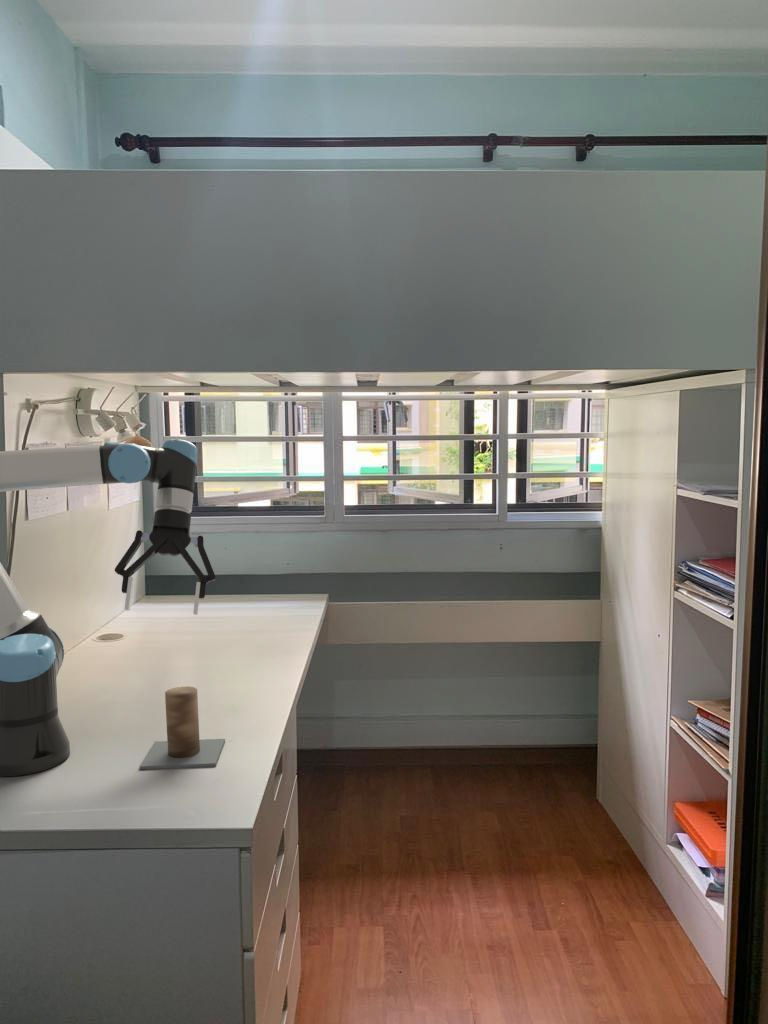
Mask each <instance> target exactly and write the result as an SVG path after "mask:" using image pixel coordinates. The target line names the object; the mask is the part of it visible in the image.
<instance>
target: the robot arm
mask: <svg viewBox="0 0 768 1024" xmlns="http://www.w3.org/2000/svg"><path fill="white" fill-rule="evenodd" d="M198 452H199V451H198V447H197V446H196V445H195V444H194V443H192V442H190V441H189V440H184V439H180V438H179V439H173V438H172V439H168V440H167V439H166V440H165V441H164V442H163V444H162V446H161V447H152V446H151V447H150V446H146V445H139V444H137V443H135V442H134V443H133V442H127V443H125V442H122V441H105V442H104V444H102V445H88V446H87V445H86V446H85V445H83V446H73V447H72V446H69V447H53V448H51V447H50V448H35V449H33V448H32V449H19V450H17V449H16V450H1V451H0V493H1V492H2V493H3V492H15V491H28V490H30V491H31V490H42V489H52V488H53V489H55V488H65V487H66V488H68V487H69V488H70V487H80V486H92V485H93V486H94V485H105V484H106V485H109V484H110V485H111V484H134V483H139V482H145V483H146V482H147V483H152V484H153V483H156V484H157V491H156V499H155V509H156V510H155V512H154V517H153V524H152V530H151V532H150V533H148V532H143V531H142V530H136V532H135V537H134V540H133V541H132V543H131V544H130V545H129V547H128V549H127V550H126V551H125V553H124V555H123V556H122V558H121V559H120V560H119V562H118V564H117V565H116V566H115V568H114V573H116V574H117V575H119V576H121V577H122V582H121V583H122V584H121V592H122V593H123V594H125V595H126V596H125V603H124V610H125V611H130V610H131V606H132V597H133V588H134V581H135V578H134V577H132V576H133V575H135V573H136V572H138V571H139V570H140V569H141V568H142V567H143V566H144V565H145V564H146V563H147V562H148V561H149V560H151V559H152V558H154V557H155V555H156V554H159V555H161V556H171V557H177V556H180V555H181V558H182V559H183V560H184V561H185V562H186V564H187V565H188V566H189V567H190V569H191V570H192V572H193V574H194V575H195V577H196V578H197V579H198V580H199V581H196V585H195V595H194V604H193V612H192V613H193V615H194V616H197V615H198V614H199V605H200V599H202V600H204V599H205V597H206V590H207V584H208V583H211V582H214V581H216V574H215V572H214V569H213V567H212V565H211V561H210V559H209V557H208V555H207V552H206V551H207V550H206V549H205V546H204V544H205V543H204V542H205V541H204V537H203V535H198V536H190V529H191V520H192V516H191V513H192V512H193V502H194V493H195V492H194V491H195V484H196V476H197V469H198ZM147 540H149V541H150V542H151V544H152V545H151V546H149V548H147V550H145V552H144V553H143V554H142V555H141V556H139V557H138V558H137V559H136V560H135V561H134V562H133V563H132V564H130V566H128V564H129V563H130V562H131V560H132V559H133V557H134V556H135V554H136V553H137V552H138V550H139V549H140V547H141V545H142V544H143V543H145V542H146V541H147ZM191 543H192V544H193V547H195V548H197V549H198V553H199V556H200V559H201V560H202V563H203V566H204V569H205V571H206V574H207V575H205V574H204V572H202V570H201V569H200V567H199V566H198V565H197V564H196V562H195V560H194V559H193V557H191V555H190V553H189V552H188V551H187V549H186V548H187V547H188V546H189V545H190V544H191ZM127 566H128V567H127ZM126 567H127V568H126ZM42 615H43V614H41V613H40V612H39V611H35V610H31V609H29V607H28V606H27V604H26V602H25V601H24V599H23V597H22V596H21V594H20V593H19V590H18V589H17V588H16V586H15V584H14V583H13V581H12V579H11V578H10V575H9V574H8V572H7V570H6V569H5V568H4V566H3V564H2V563H1V561H0V777H19V776H26V775H30V774H36V773H40V772H43V771H46V770H49V769H51V768H54V767H57V766H58V765H60V764H62V763H63V762H65V761H66V760H67V759H68V758H69V757H70V755H71V749H70V748H71V746H70V745H71V744H70V743H71V742H70V740H69V738H68V736H67V733H66V731H65V729H64V727H63V724H62V722H61V719H60V717H59V708H58V707H59V706H58V705H59V703H58V688H57V686H58V685H57V678H58V674H59V672H60V670H61V667H62V665H63V662H64V658H65V650H64V644H63V641H62V639H61V638H60V636H59V634H58V633H57V632H56V631H55V630H54V629H52V628H51V627H49V625H48V624H47V621H46V620H45V618H44V617H43V616H42Z"/></svg>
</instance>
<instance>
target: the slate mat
mask: <svg viewBox="0 0 768 1024" xmlns="http://www.w3.org/2000/svg"><path fill="white" fill-rule="evenodd" d="M199 740H200V751H199V753H197V754H196V755H193V756H190V757H186V758H173V757H170V756H169V755H168V743H167V740H157V741H156V740H155V741H154V742H153V744H152V745H151V747H150V749H149V750H148V752H147V754H146V755H145V757H144V758H143V760H142V761H141V762H140V765H139V770H159V769H182V768H183V769H185V768H186V769H187V768H207V767H208V768H209V767H217V764H218V763H219V762H218V761H219V759H220V756H221V754H222V750H223V748H224V746H225V743H226V738H210V739H207V738H206V739H199Z"/></svg>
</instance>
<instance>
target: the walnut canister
mask: <svg viewBox="0 0 768 1024" xmlns="http://www.w3.org/2000/svg"><path fill="white" fill-rule="evenodd" d="M164 697H165V720H166V722H165V723H166V741H167V743H168V755H169V756H170V757H173V758H186V757H190V756H193V755H196V754H197V753H199V751H200V740H201V739H200V722H199V721H200V719H199V703H198V702H199V701H198V699H199V698H198V697H199V696H198V688H196V687H193V686H177V687H173V688H170V689H167V690H166V691H165V692H164Z"/></svg>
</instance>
